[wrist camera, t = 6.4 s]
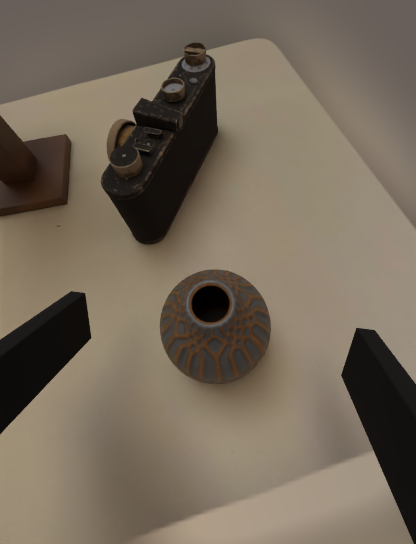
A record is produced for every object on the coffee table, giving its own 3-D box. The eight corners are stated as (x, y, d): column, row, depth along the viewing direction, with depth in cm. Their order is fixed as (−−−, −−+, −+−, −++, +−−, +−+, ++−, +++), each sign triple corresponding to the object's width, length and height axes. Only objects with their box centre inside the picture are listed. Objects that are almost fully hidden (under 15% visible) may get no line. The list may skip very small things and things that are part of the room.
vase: (201, 278, 22) (185, 218, 14) (277, 317, 20) (310, 274, 12) (155, 353, 20) (106, 332, 12) (236, 403, 18) (244, 419, 10)
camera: (171, 115, 30) (154, 30, 23) (225, 126, 29) (225, 39, 22) (100, 230, 25) (46, 165, 17) (163, 250, 23) (134, 189, 16)
